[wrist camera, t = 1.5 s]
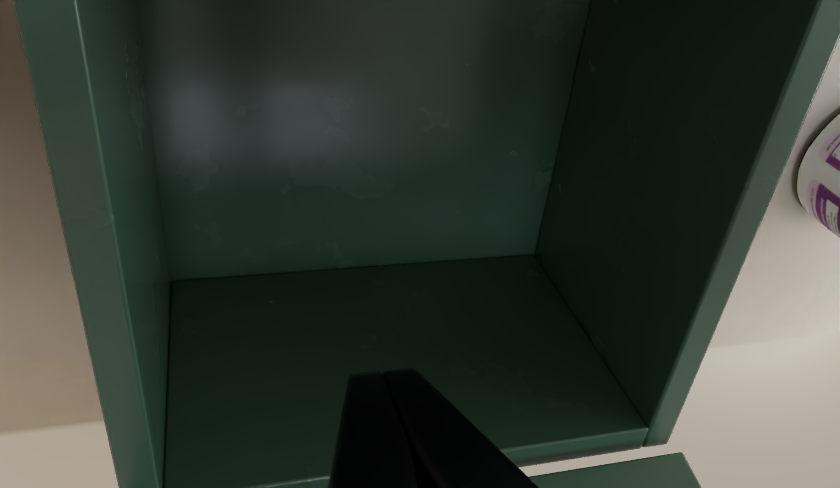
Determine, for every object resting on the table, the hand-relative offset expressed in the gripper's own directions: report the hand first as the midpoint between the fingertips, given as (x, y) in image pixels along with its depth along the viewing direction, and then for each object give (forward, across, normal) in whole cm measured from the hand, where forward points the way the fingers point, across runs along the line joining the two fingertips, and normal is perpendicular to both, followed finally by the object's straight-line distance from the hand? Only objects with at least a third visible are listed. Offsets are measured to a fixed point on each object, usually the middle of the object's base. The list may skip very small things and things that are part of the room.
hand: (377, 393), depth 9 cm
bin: (+13, -3, +1) cm, 13 cm away
